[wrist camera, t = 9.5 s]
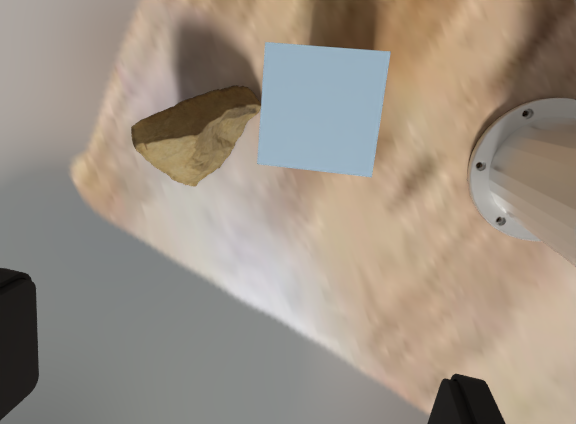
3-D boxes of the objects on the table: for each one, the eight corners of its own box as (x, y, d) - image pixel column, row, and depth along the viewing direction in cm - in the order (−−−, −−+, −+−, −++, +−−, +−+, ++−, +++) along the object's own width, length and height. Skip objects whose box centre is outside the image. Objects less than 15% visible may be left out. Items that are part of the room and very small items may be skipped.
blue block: (381, 62, 24) (390, 51, 19) (367, 160, 26) (371, 177, 20) (285, 54, 25) (265, 42, 19) (277, 150, 27) (257, 164, 21)
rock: (246, 49, 35) (138, 78, 35) (252, 108, 29) (125, 140, 30) (274, 141, 43) (186, 163, 44) (283, 200, 38) (183, 224, 38)
